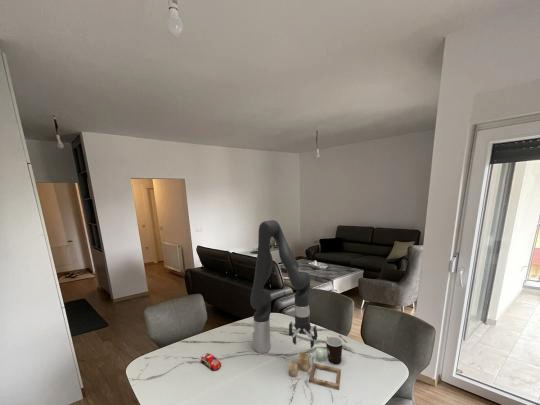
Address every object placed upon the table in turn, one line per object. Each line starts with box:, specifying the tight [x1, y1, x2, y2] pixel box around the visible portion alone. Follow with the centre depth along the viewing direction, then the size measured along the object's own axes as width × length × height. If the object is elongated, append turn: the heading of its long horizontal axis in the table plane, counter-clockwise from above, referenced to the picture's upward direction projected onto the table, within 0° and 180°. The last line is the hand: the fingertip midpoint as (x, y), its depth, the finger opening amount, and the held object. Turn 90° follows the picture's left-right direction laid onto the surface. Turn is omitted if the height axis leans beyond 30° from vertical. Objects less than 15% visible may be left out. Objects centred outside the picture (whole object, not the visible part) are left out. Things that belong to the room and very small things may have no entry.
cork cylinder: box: [288, 360, 298, 378], centre depth 113 cm, size 4×4×5 cm
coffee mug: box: [325, 336, 344, 366], centre depth 124 cm, size 12×9×10 cm
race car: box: [200, 352, 222, 372], centre depth 122 cm, size 13×5×4 cm, turn 49°
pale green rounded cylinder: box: [315, 347, 325, 363], centre depth 123 cm, size 4×4×5 cm
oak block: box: [297, 352, 311, 373], centre depth 117 cm, size 5×5×6 cm
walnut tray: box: [308, 362, 342, 391], centre depth 111 cm, size 14×12×2 cm
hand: (303, 345), depth 117 cm, fingers open, 8 cm apart
